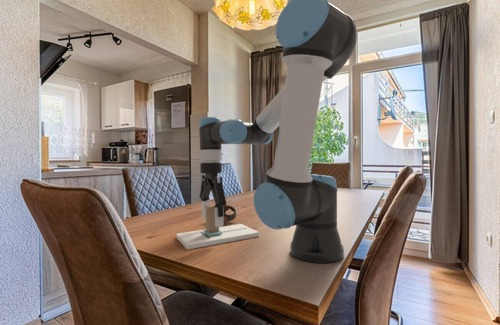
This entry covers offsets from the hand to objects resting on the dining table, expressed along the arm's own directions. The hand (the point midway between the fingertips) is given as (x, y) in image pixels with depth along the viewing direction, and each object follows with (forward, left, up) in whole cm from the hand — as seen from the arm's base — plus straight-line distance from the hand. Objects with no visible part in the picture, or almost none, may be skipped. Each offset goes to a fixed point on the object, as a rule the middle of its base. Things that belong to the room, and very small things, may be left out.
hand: (212, 222), depth 94 cm
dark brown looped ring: (+20, -12, -6) cm, 24 cm away
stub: (0, 0, -4) cm, 4 cm away
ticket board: (0, -2, -6) cm, 6 cm away
